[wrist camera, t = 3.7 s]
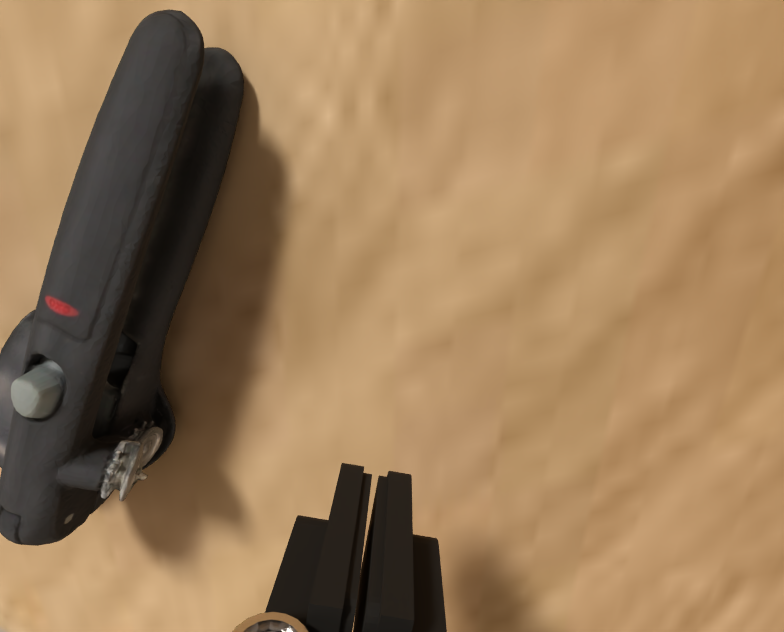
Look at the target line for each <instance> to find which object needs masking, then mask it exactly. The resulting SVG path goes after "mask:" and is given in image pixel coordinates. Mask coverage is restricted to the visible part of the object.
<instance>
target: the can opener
mask: <svg viewBox="0 0 784 632" xmlns="http://www.w3.org/2000/svg"><path fill="white" fill-rule="evenodd" d="M243 92H244V81H243V74H242V71H241V68H240V66H239V64H238V63H237V61H236V60H235V58H234V57H233V56H232V55H231V54H230V53H229V52H227V51H226V50H224V49H221V48H204V41H203V37H202V34H201V32H200V30H199V28H198V27H197V25H196V24H195V23H194V22H193V21H192V20H191V19H190V18H189V17H188V16H187V15H186V14H184V13H183V12H182V11H175V10H163V11H157V12H154V13H152V14H150V15H148V16H147V17H146V18H144V19H143V20H142V21H141V23H140V24H139V25H138V26H137V28H136V29H135V31H134V32H133V34H132V36H131V38H130V40H129V43H128V45H127V47H126V49H125V52H124V54H123V57H122V59H121V61H120V63H119V65H118V67H117V70H116V72H115V75H114V77H113V79H112V81H111V84H110V87H109V89H108V92H107V94H106V97H105V99H104V102H103V104H102V106H101V109H100V111H99V113H98V115H97V118H96V121H95V124H94V126H93V129H92V131H91V134H90V137H89V140H88V142H87V145H86V147H85V150H84V153H83V156H82V158H81V161H80V164H79V167H78V170H77V172H76V175H75V179H74V181H73V184H72V188H71V191H70V194H69V196H68V199H67V202H66V205H65V208H64V211H63V214H62V218H61V222H60V225H59V228H58V232H57V235H56V238H55V240H54V245H53V248H52V252H51V255H50V259H49V262H48V265H47V269H46V274H45V277H44V281H43V285H42V288H41V291H40V296H39V300H38V304H37V307H36V310H34V311H32V312H30V313H29V314H28V315H27V316H25V317H24V318H23V319H22V320H21V321H20V323H19V324H18V325H17V326H16V327H15V329H14V330H13V332H12V333H11V335H10V337H9V338H8V340H7V342H6V343H5V345H4V347H3V348H2V350H1V353H0V467H1V468H2V472H1V477H0V533H1V534H2V535H3V536H4V537H5V538H6V539H8V540H10V541H12V542H14V543H16V544H21V545H43V544H50V543H54V542H57V541H60V540H62V539H63V538H65V537H66V536H68V535H69V534H71V533H72V532H73V531H74V530H75V529H76V528H77V527H79V526H80V525H82V524H83V523H84V522H85V521H86V519H87V518H88V516H89V514H92V513H93V512H94V511H95V510H96V509H97V508H98V507H99V506H100V505H101V504H103V503H104V501H105V500H106V499H107V498H108V497H109V496H110V494H111V493H112V492H113V491H114V489H117V490H119V491H120V495H119V496H120V499H119V500H120V501H123V500H124V499H125V498H126V496H127V494H128V493H129V492H130V490H131V489H132V487H133V485H134V484H135V483H136V482H137V481H138V480H145V479H146V478H147V475H146V474H144V473H143V471H142V470H143V469H145V468H146V467H148V466H149V465H151V464H152V463H153V462H155V461H156V460H157V459H158V458H159V457H160V456H161V455H162V454H164V452H165V451H166V450H167V448H168V447H169V445H170V444H171V442H172V440H173V438H174V434H175V427H176V425H175V417H174V414H173V411H172V408H171V406H170V403H169V401H168V399H167V397H166V395H165V393H164V390H163V388H162V385H161V382H160V368H161V359H162V352H163V348H164V343H165V339H166V335H167V332H168V329H169V326H170V322H171V320H172V317H173V314H174V311H175V309H176V306H177V303H178V301H179V298H180V296H181V293H182V291H183V288H184V285H185V283H186V280H187V278H188V275H189V273H190V270H191V267H192V265H193V262H194V259H195V257H196V254H197V251H198V249H199V246H200V243H201V240H202V238H203V235H204V232H205V229H206V227H207V224H208V221H209V218H210V215H211V212H212V209H213V207H214V204H215V201H216V198H217V194H218V191H219V188H220V184H221V181H222V177H223V174H224V171H225V167H226V163H227V160H228V157H229V153H230V149H231V146H232V142H233V138H234V134H235V130H236V125H237V121H238V117H239V112H240V107H241V104H242V99H243Z"/></svg>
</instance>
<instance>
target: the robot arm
mask: <svg viewBox="0 0 784 632" xmlns="http://www.w3.org/2000/svg"><path fill="white" fill-rule="evenodd" d="M363 471H364V467H363V466H357V465H351V464H345V463H342V465H341V469H340V473H339V477H338V482H337V486H336V490H335V495H334V499H333V503H332V507H331V512H330V516H329V520H323V519H317V518H311V517H305V516H299V515H298V516H297V518H296V521H295V524H294V527H293V530H292V533H291V536H290V539H289V542H288V545H287V548H286V551H285V554H284V557H283V560H282V563H281V566H280V569H279V572H278V575H277V578H276V581H275V584H274V587H273V590H272V593H271V596H270V599H269V602H268V605H267V608H266V611H265V613H260V614H257V615H255V616H252V617H250V618H247V619H246V620H245V621H243V622H242V623H241V624H239V625H238V626H236V628H235V629H234V630H233V632H352V628H353V623H354V629H353V632H447V630H446V619H445V608H444V597H443V586H442V576H441V565H440V554H439V544H438V540H437V538H431V537H425V536H419V535H413V529H412V479H411V475H410V474H404V473H399V472H393V471H389V472H388V475H387V477H384V476H379V478H378V482H377V488H376V493H375V498H374V504H373V509H372V514H371V520H370V525H369V530H368V535H367V541H366V546H365V551H364V557H363V562H362V555H363V546H364V538H365V529H366V521H367V512H368V504H369V496H370V487H371V479H372V474H366V473H363ZM361 563H362V567H361ZM360 572H361V573H360ZM355 611H356V612H355ZM354 617H355V621H354Z"/></svg>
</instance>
